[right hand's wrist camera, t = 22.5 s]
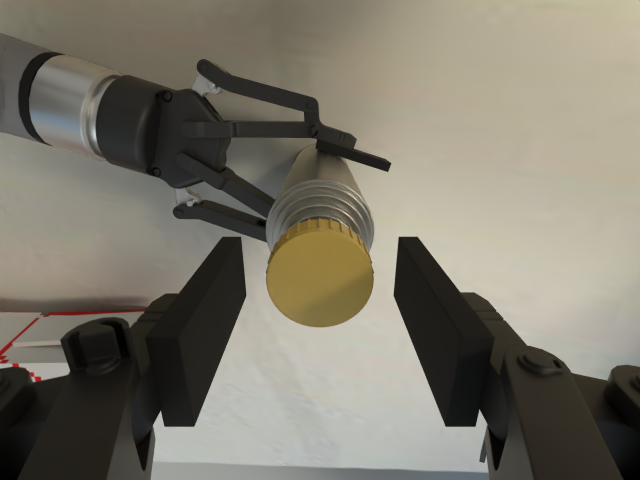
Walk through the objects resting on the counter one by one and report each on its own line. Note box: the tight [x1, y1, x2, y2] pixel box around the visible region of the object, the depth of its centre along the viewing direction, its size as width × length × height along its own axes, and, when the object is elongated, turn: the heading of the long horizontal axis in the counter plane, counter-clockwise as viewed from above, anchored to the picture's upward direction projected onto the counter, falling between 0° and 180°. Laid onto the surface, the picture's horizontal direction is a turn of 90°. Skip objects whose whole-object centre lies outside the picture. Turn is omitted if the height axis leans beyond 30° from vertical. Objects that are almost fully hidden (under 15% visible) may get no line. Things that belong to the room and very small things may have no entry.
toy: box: [0, 310, 145, 382], centre depth 39 cm, size 12×13×30 cm
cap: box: [266, 218, 374, 327], centre depth 14 cm, size 4×4×2 cm
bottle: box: [266, 144, 374, 252], centre depth 25 cm, size 6×6×25 cm
